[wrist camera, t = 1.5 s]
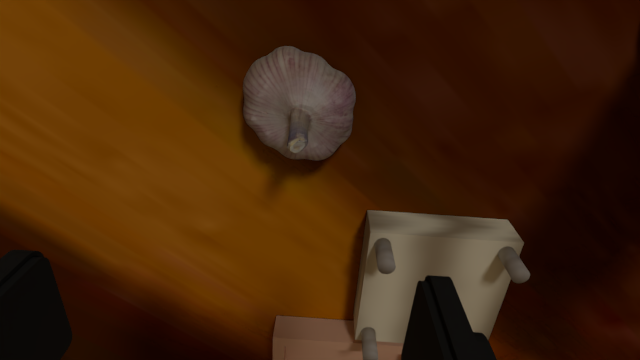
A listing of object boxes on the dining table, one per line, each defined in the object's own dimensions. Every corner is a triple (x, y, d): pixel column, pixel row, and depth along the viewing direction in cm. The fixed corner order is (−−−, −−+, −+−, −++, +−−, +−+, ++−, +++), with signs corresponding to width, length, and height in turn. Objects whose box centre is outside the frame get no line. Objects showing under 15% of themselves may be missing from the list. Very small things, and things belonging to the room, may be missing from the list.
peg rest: (507, 219, 31) (540, 265, 26) (473, 321, 36) (495, 375, 31) (367, 210, 31) (373, 254, 26) (353, 312, 36) (356, 365, 31)
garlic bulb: (364, 137, 28) (375, 191, 21) (267, 158, 29) (245, 216, 22) (342, 27, 25) (345, 48, 18) (232, 55, 26) (195, 86, 19)
